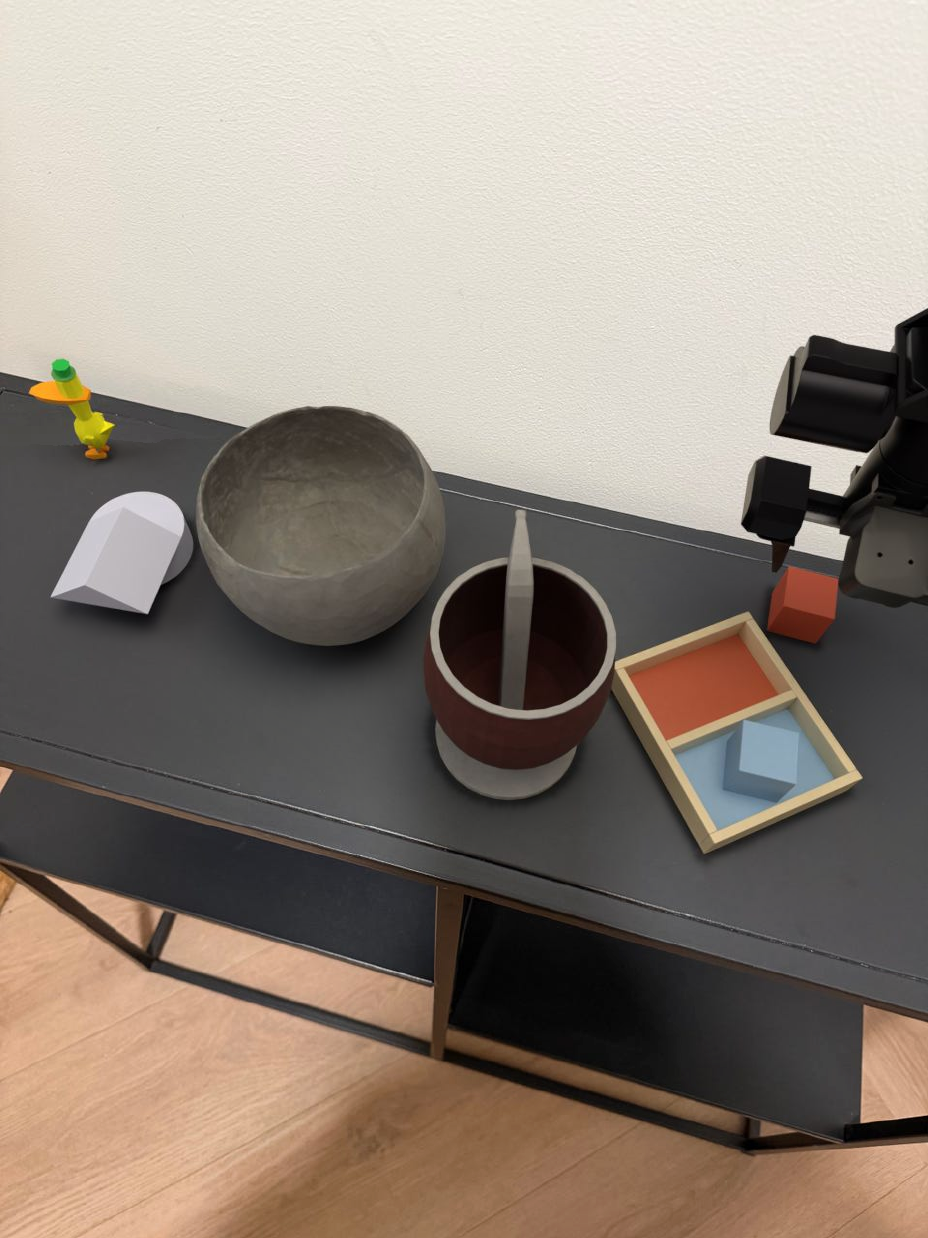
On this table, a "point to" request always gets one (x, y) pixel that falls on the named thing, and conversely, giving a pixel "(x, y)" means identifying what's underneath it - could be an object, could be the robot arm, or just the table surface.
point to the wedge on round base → (127, 553)
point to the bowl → (322, 524)
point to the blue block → (761, 761)
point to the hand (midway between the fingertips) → (830, 581)
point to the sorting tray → (725, 726)
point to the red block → (803, 605)
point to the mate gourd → (517, 671)
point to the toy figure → (76, 407)
